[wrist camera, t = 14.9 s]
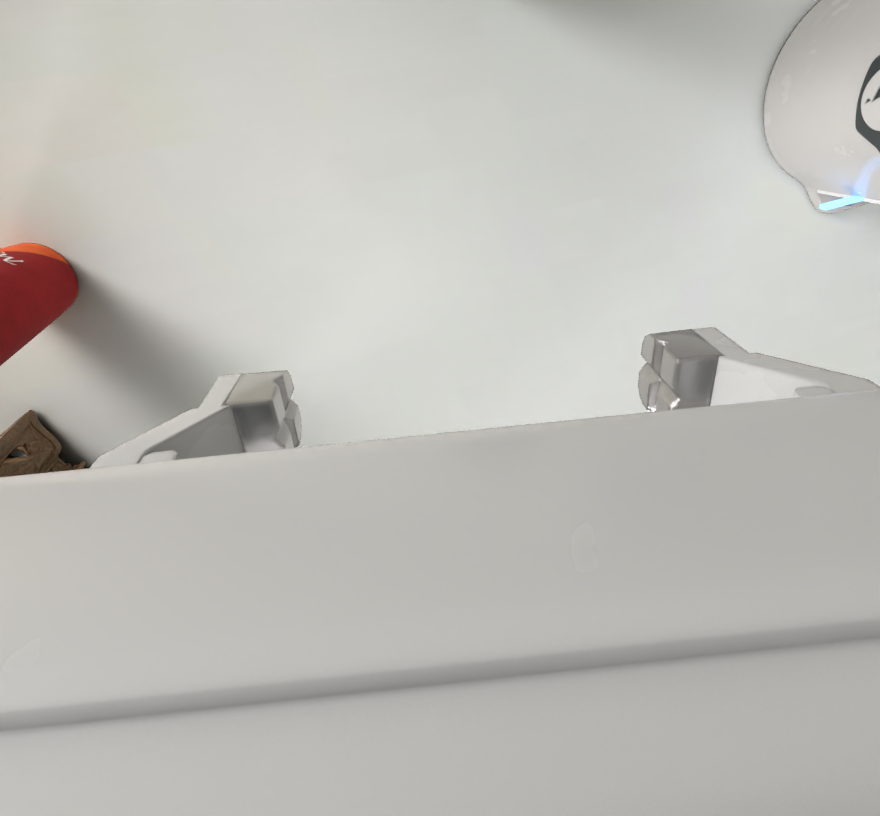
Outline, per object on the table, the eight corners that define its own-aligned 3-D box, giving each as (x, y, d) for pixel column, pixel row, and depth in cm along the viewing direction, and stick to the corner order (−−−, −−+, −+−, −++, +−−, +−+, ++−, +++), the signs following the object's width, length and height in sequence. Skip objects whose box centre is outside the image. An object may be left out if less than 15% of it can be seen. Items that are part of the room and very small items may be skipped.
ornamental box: (290, 588, 71) (279, 726, 55) (187, 662, 74) (147, 815, 57) (40, 398, 55) (-79, 513, 39) (-81, 501, 58) (-241, 649, 41)
